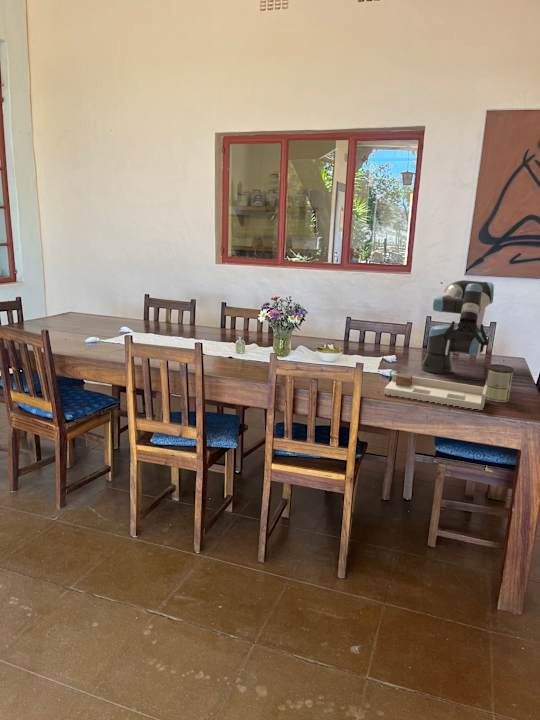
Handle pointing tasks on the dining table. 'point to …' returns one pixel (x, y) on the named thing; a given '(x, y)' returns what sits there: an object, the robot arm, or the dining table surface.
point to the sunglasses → (391, 375)
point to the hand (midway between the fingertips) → (461, 355)
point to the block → (403, 380)
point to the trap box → (440, 392)
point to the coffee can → (498, 382)
